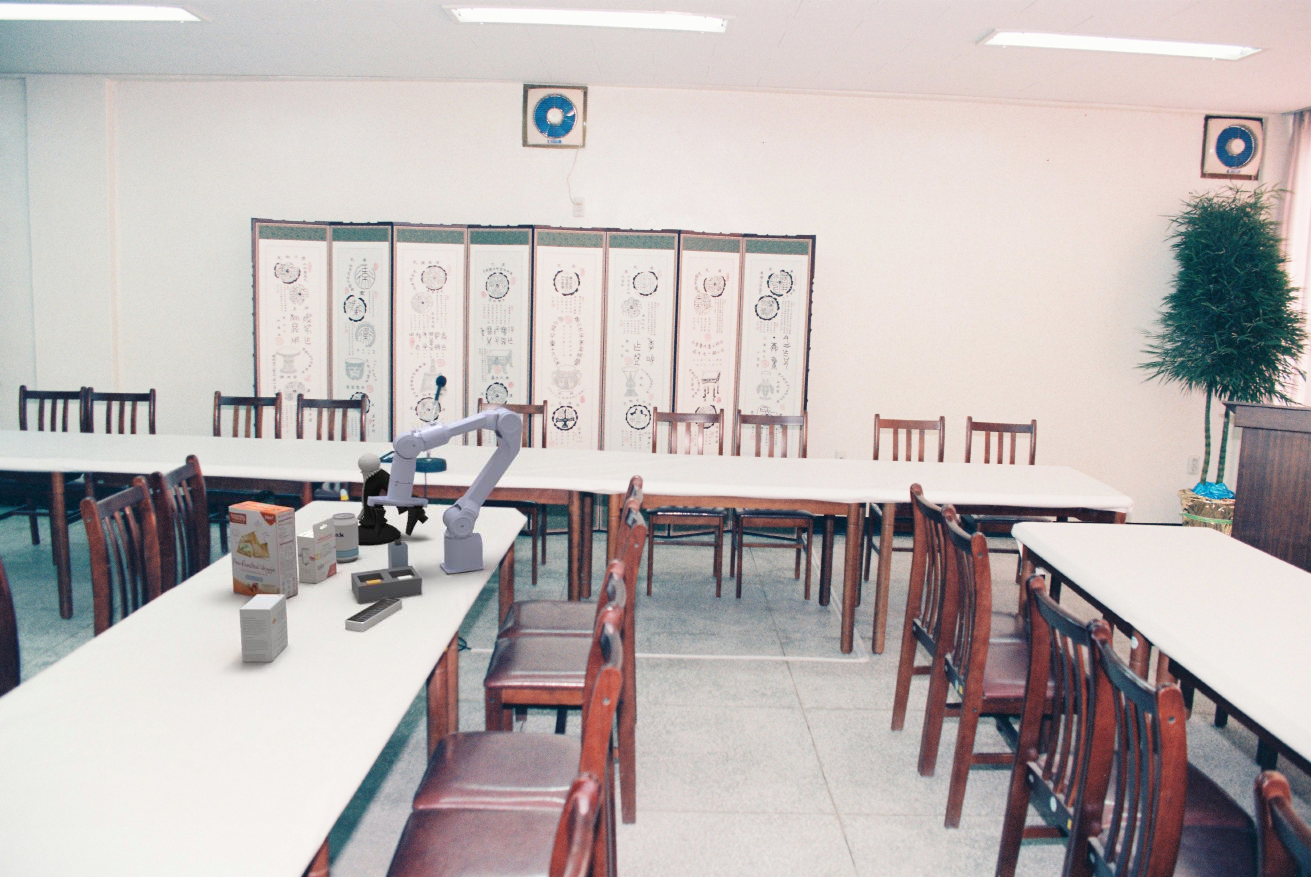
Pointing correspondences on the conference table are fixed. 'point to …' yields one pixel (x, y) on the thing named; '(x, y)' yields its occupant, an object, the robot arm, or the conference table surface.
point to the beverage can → (346, 537)
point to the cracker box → (263, 549)
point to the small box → (263, 627)
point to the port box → (386, 584)
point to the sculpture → (372, 487)
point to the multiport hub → (373, 614)
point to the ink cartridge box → (317, 552)
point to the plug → (397, 554)
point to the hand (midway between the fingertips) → (393, 534)
